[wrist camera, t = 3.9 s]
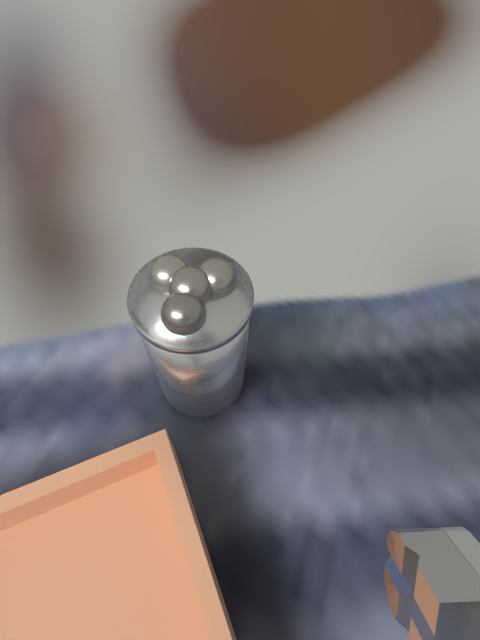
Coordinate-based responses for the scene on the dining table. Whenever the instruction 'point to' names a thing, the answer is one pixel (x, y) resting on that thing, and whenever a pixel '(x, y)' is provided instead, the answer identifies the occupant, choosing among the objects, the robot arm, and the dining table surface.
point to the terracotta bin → (109, 553)
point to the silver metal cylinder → (194, 326)
